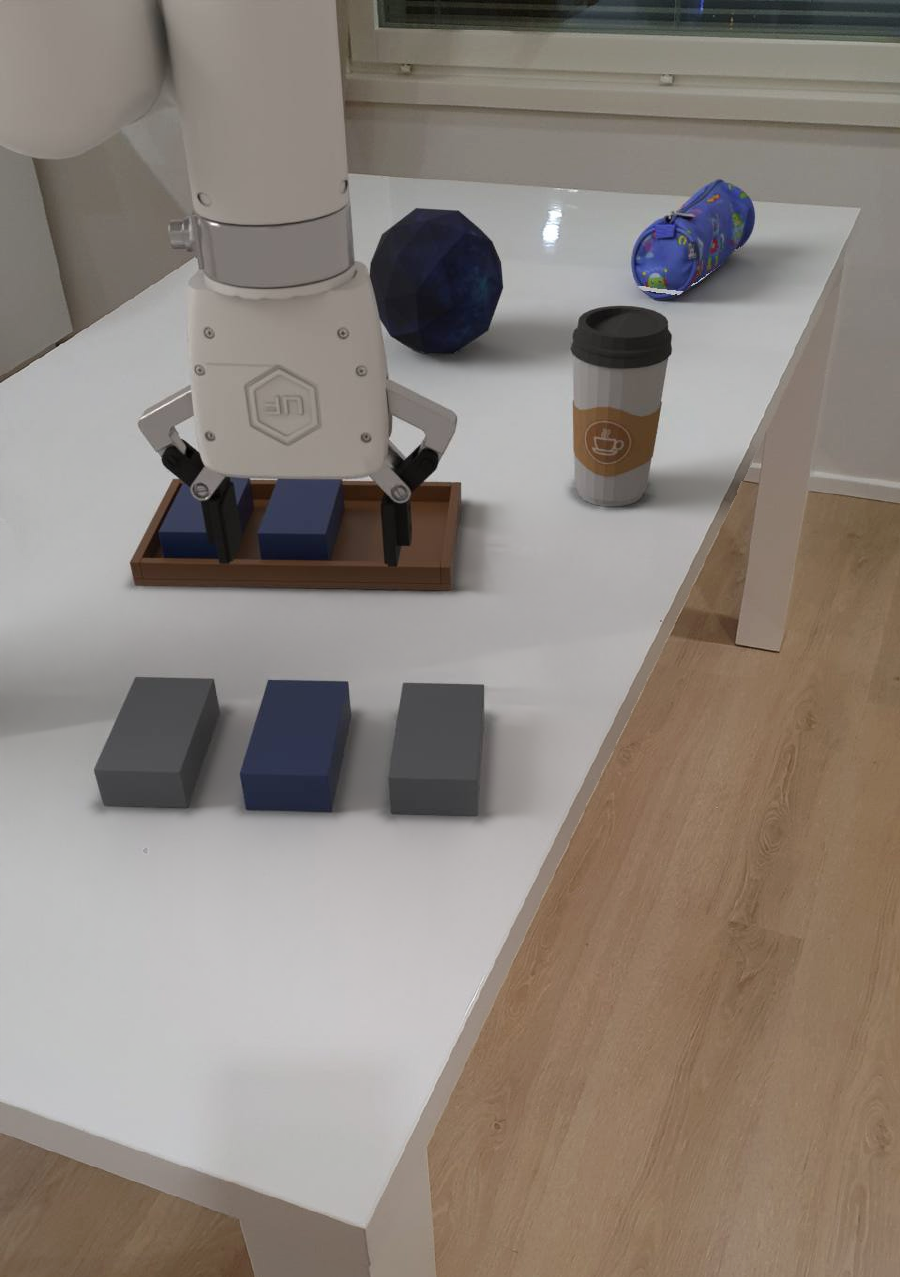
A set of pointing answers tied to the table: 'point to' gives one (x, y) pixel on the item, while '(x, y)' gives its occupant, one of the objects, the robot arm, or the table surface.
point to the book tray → (352, 556)
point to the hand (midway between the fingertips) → (312, 553)
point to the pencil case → (692, 239)
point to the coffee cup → (617, 400)
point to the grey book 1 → (158, 742)
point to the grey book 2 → (437, 750)
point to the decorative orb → (436, 281)
